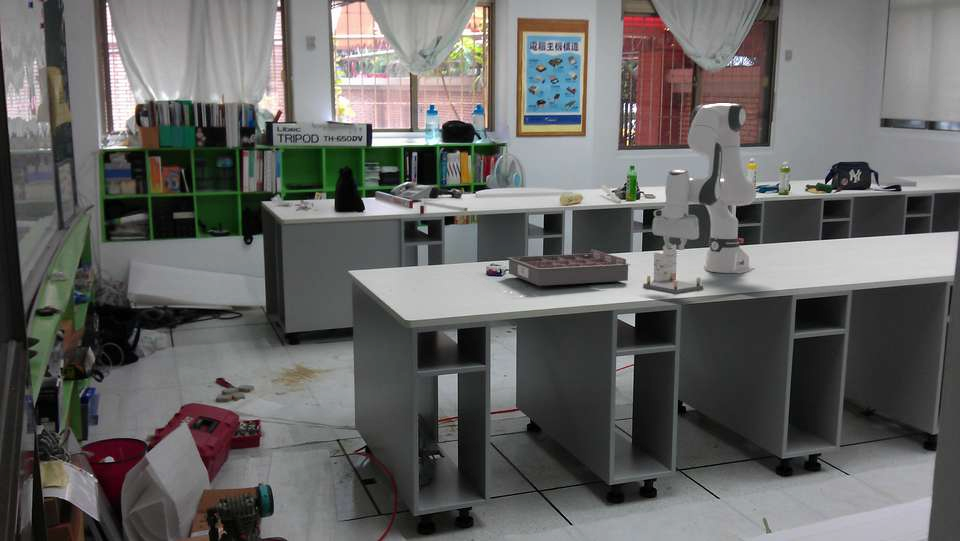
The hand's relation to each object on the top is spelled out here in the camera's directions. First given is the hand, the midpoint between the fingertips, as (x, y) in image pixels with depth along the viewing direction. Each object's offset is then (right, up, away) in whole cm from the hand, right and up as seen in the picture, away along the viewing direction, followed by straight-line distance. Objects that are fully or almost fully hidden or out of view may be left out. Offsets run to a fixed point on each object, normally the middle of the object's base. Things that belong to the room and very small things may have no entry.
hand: (674, 249), depth 340 cm
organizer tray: (-39, -12, +20) cm, 46 cm away
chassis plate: (0, -15, +3) cm, 15 cm away
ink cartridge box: (0, -12, +20) cm, 24 cm away
